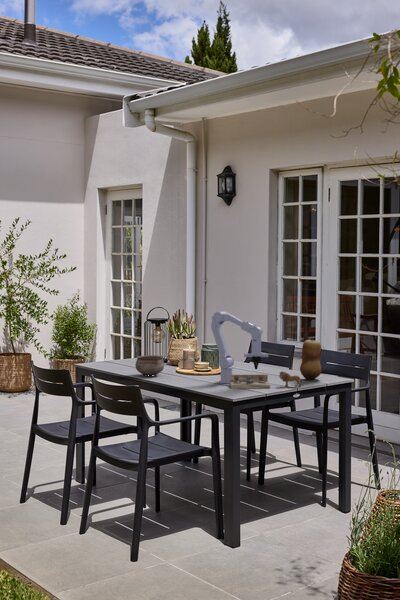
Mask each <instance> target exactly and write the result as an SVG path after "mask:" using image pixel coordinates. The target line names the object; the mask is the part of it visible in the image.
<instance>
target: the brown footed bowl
mask: <svg viewBox="0 0 400 600" xmlns="http://www.w3.org/2000/svg"><path fill="white" fill-rule="evenodd" d="M163 358H164V355H163V356H162V355H154V354H153V355H152V354H149V355H147V354H146V355H138V356H136V362H135V369H136V370H137V372H138V373H140V374H142V375H143V376H145V375H147V376H146V377H153V376H152V375H155V376H157V375H159V374H160V373H162V372H163V370H164V368H165V362H164V359H163ZM148 375H149V376H148Z"/></svg>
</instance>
